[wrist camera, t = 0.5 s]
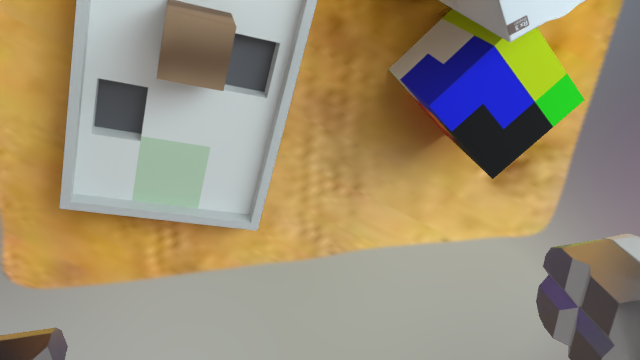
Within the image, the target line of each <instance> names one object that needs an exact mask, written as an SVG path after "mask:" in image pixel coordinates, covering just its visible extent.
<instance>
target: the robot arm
mask: <svg viewBox="0 0 640 360" xmlns="http://www.w3.org/2000/svg"><path fill="white" fill-rule="evenodd" d="M543 267H544V269H545V270H546V272H547V273H548V276H547V277H546V279H545V280H544V281H543V282H542V283H541V284H540V285H539V288H538V294H537V300H536V303H537V308H538V313H539V317H540V319H541V321H542V323H543V325H544V327H545V329H546V330H547V331H548V332H549V334H550V335H551V336H552V338H554V339H556V340H558V341H560V342H562V343H564V344H566V345H568V346H569V350H568V357H569V358H570V360H640V238H639V237H637V236H635V235H631V234H623V235H618V236H612V237H607V238H603V239H600V240H593V241H587V242H581V243H575V244H570V245H563V246H558V247H552V248H550V250H549V251H548V253H547V254H546V256H545V261H544V265H543ZM67 347H68V346H67V344H66V341H65V338H64V336H63V333H62V331H61V330H60V329H58V328H50V329H43V330H36V331H29V332H22V333H15V334H8V335H1V336H0V360H65V356H66V351H67Z"/></svg>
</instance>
